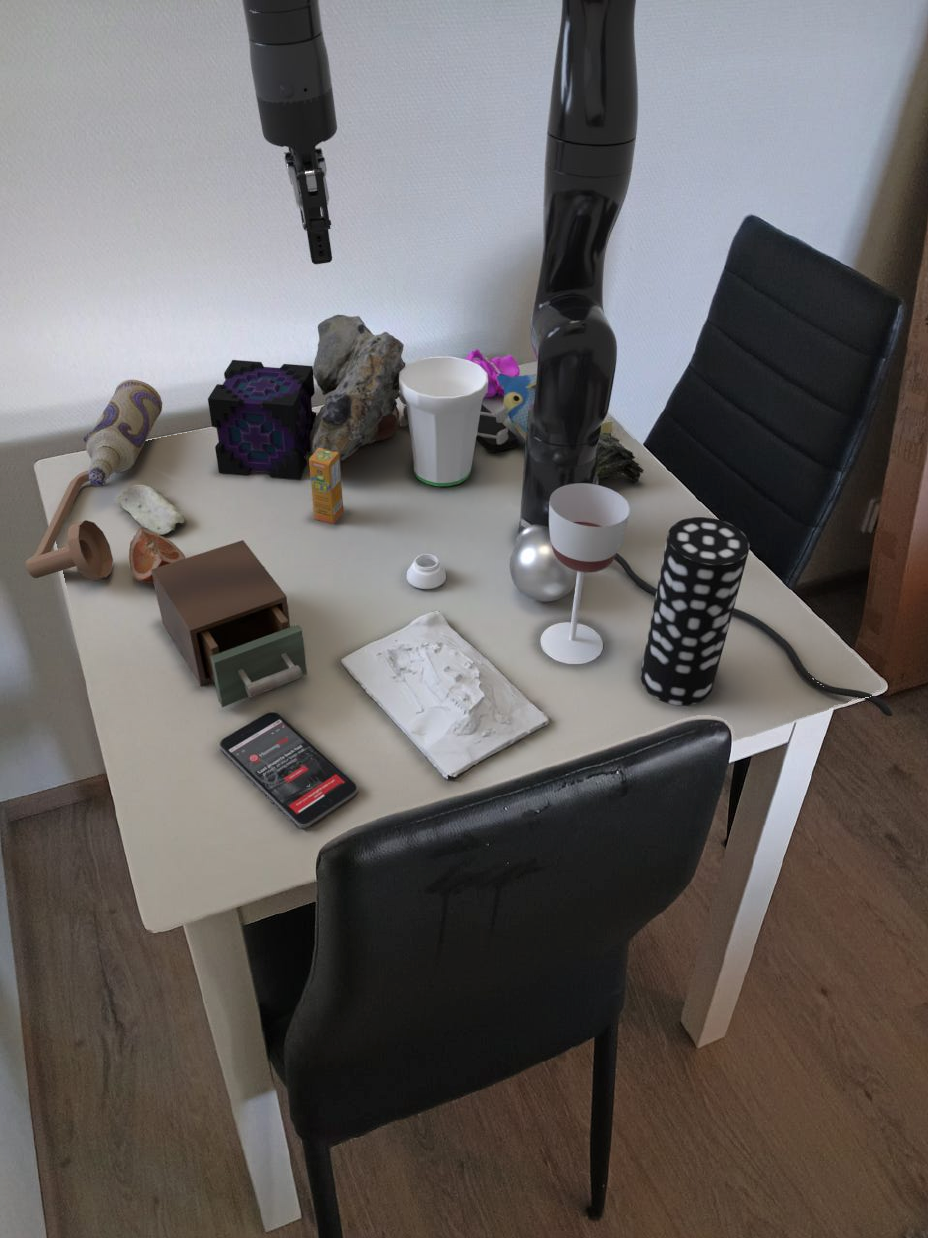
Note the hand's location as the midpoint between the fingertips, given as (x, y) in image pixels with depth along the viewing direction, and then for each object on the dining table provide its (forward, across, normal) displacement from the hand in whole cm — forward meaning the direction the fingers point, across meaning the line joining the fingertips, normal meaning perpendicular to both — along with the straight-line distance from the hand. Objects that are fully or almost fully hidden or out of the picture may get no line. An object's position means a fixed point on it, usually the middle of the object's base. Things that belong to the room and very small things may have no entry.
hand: (317, 244), depth 110 cm
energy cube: (+40, +20, +11) cm, 46 cm away
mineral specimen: (+36, +2, -36) cm, 52 cm away
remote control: (+43, +22, -22) cm, 53 cm away
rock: (+34, +17, -8) cm, 39 cm away
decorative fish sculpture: (+36, +24, -36) cm, 56 cm away
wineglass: (+40, -29, -22) cm, 54 cm away
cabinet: (+37, -20, +19) cm, 46 cm away
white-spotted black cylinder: (+40, -37, -32) cm, 63 cm away
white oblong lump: (+38, +7, +27) cm, 47 cm away
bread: (+42, +25, -4) cm, 49 cm away
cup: (+41, +11, -14) cm, 45 cm away
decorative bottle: (+38, +34, +26) cm, 56 cm away
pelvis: (+37, +34, -27) cm, 57 cm away
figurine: (+38, +15, -25) cm, 48 cm away
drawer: (+36, -27, +16) cm, 48 cm away
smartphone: (+36, -42, +13) cm, 57 cm away
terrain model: (+38, -34, -4) cm, 51 cm away
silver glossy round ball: (+38, -22, -23) cm, 50 cm away
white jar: (+40, -14, -7) cm, 42 cm away
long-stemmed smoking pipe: (+38, +4, +35) cm, 52 cm away
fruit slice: (+37, -6, +26) cm, 46 cm away
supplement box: (+40, +2, +4) cm, 40 cm away
